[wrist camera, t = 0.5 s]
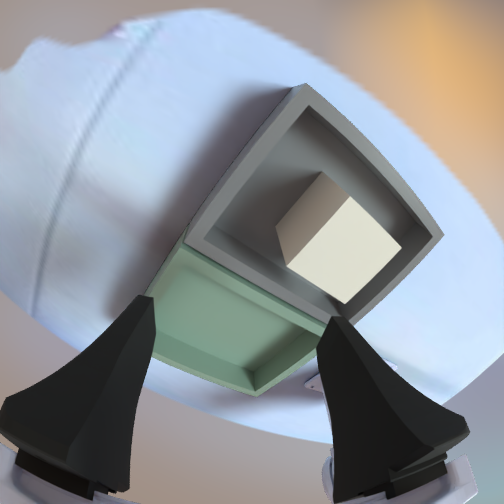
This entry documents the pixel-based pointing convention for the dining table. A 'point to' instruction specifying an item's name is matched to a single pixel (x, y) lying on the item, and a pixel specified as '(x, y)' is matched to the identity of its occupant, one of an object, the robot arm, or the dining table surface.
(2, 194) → the dining table surface
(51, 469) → the robot arm
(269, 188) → the tray
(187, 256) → the tray
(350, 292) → the stone block
